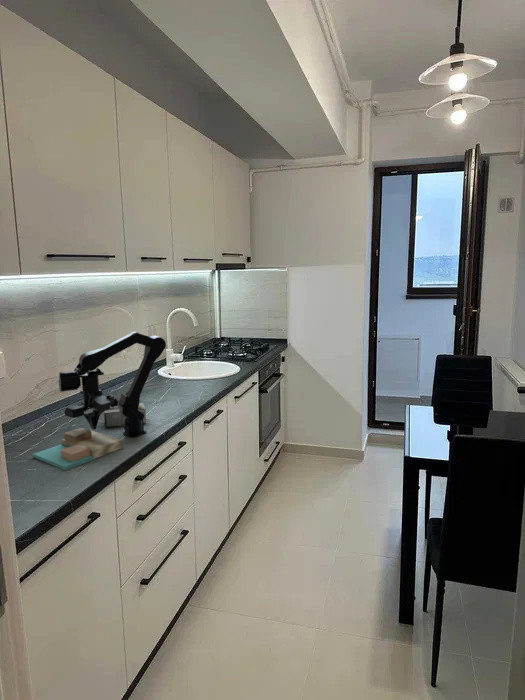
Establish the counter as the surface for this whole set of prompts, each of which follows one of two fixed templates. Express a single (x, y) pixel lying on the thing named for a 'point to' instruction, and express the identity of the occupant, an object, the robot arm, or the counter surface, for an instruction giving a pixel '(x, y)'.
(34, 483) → the counter surface
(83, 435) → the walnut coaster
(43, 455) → the mat
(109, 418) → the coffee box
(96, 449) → the deck
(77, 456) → the blush pink tile
